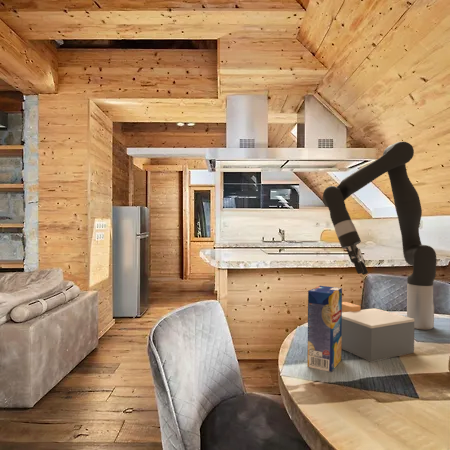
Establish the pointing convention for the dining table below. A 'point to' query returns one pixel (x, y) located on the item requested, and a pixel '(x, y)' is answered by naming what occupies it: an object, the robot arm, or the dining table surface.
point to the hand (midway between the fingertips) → (363, 273)
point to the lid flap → (371, 316)
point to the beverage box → (324, 327)
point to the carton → (377, 340)
